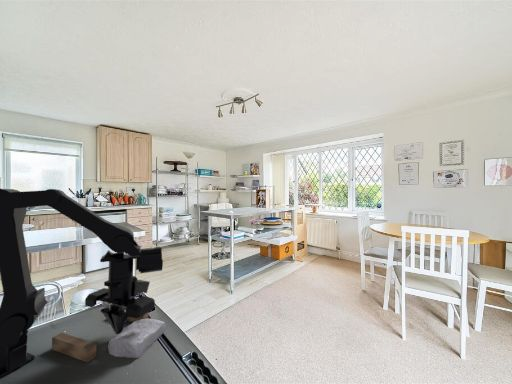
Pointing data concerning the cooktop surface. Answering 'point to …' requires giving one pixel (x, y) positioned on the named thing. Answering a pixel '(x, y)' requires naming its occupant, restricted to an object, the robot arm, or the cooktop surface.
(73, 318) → the cooktop surface
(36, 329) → the cooktop surface
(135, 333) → the stone block
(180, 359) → the cooktop surface
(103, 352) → the cooktop surface
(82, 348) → the wooden blocks
